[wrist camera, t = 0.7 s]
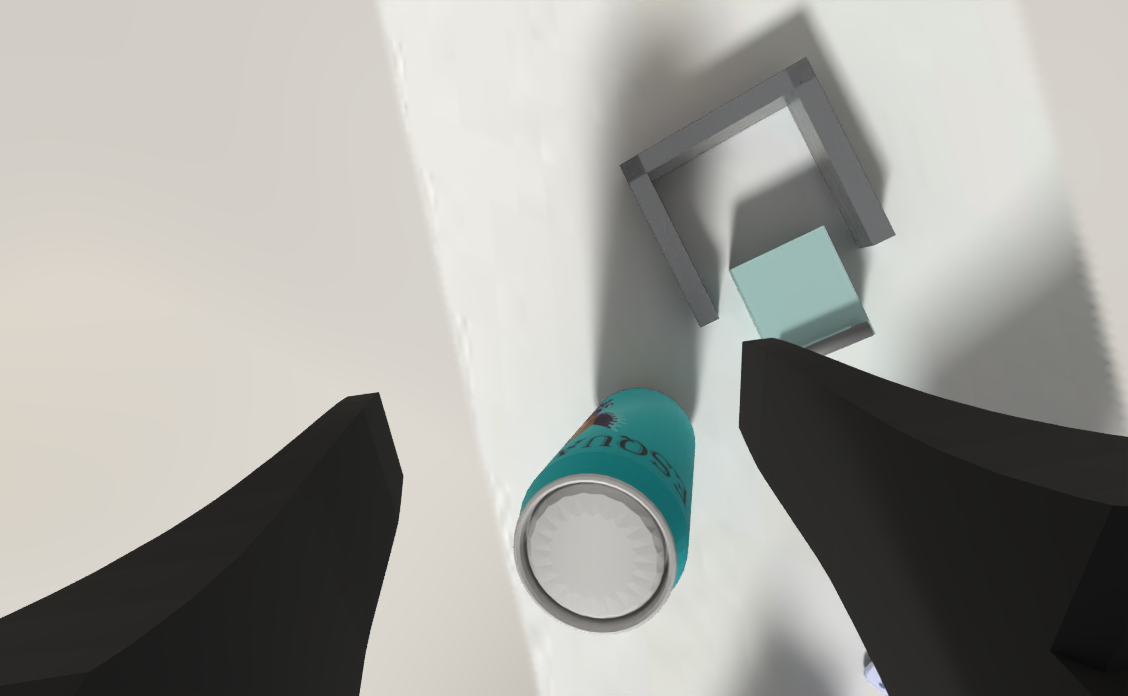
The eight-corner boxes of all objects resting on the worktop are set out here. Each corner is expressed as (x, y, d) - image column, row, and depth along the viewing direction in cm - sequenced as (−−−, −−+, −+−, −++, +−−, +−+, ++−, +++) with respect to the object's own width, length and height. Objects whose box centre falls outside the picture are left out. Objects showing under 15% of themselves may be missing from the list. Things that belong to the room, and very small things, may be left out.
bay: (879, 238, 28) (895, 234, 25) (700, 324, 30) (700, 327, 28) (797, 76, 28) (806, 57, 26) (626, 174, 30) (619, 165, 28)
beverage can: (633, 361, 32) (572, 428, 17) (717, 426, 31) (727, 553, 16) (574, 438, 33) (470, 560, 18) (653, 502, 32) (610, 681, 18)
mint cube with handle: (858, 328, 29) (882, 335, 25) (773, 364, 30) (782, 376, 26) (812, 231, 29) (828, 222, 25) (728, 270, 30) (731, 268, 26)
